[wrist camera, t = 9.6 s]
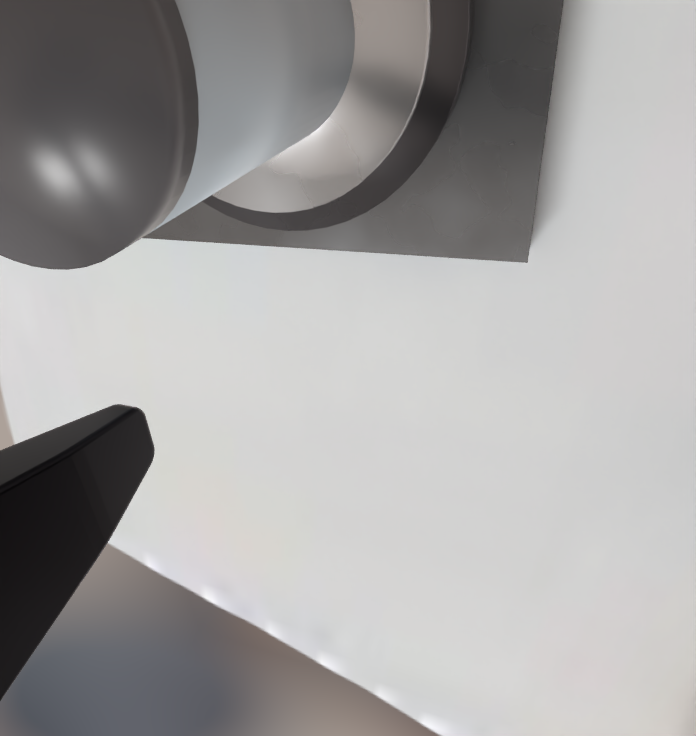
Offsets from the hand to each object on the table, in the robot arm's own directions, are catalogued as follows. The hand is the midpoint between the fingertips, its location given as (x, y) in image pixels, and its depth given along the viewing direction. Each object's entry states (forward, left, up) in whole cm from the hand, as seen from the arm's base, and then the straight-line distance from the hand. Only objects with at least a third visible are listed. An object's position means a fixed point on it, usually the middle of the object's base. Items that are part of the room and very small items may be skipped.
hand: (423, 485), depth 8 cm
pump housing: (+6, -5, -9) cm, 11 cm away
